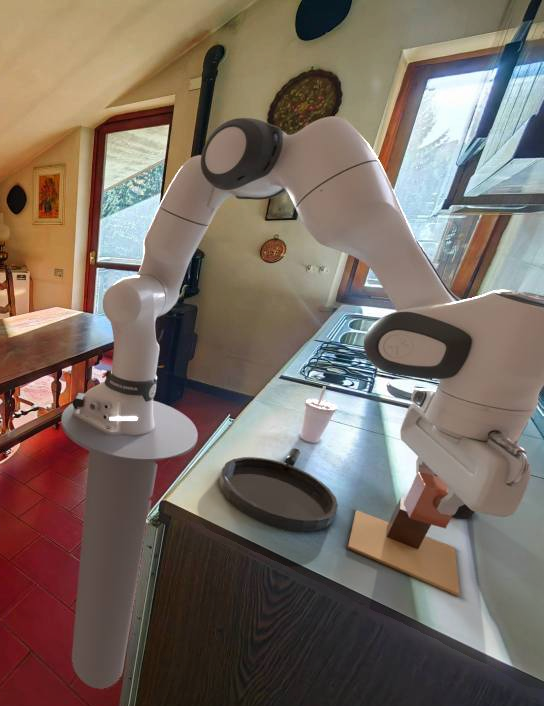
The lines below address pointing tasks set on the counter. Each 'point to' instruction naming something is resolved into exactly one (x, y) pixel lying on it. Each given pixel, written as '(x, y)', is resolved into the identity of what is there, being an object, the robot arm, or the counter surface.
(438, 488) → the terracotta block
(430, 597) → the counter surface
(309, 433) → the smoothie
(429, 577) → the mat
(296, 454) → the pan handle
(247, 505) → the pan
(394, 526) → the walnut block
